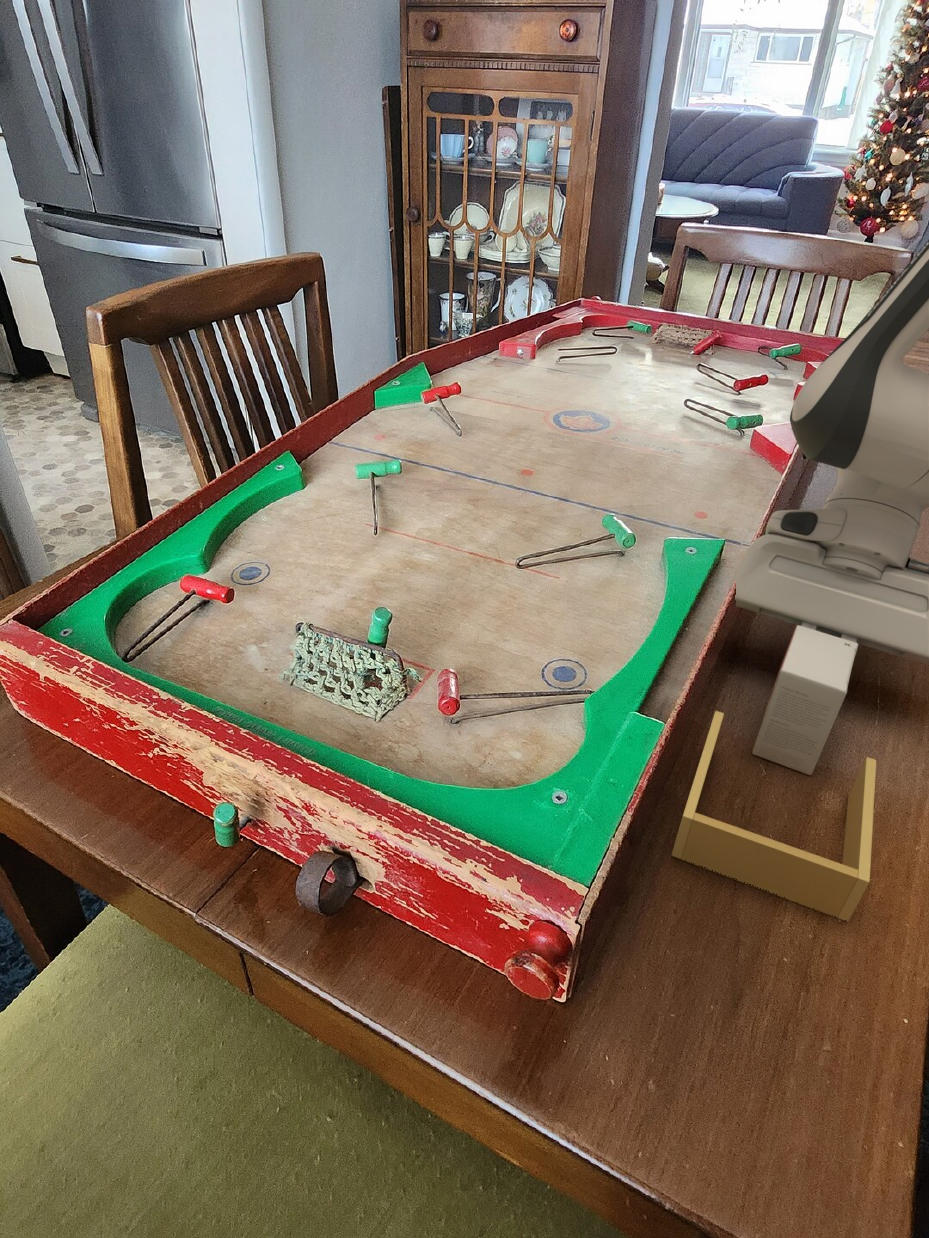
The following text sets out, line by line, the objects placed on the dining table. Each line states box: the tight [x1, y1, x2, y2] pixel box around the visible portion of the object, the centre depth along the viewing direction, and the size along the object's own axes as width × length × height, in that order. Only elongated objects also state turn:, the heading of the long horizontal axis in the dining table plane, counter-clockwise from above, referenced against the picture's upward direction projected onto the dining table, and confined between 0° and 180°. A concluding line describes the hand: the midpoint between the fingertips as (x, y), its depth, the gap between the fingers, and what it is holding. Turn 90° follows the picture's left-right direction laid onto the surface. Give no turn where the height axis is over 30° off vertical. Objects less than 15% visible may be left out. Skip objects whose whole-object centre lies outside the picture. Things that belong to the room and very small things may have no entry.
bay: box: [671, 710, 877, 923], centre depth 65 cm, size 14×14×5 cm
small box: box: [751, 625, 860, 776], centre depth 72 cm, size 8×6×10 cm
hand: (812, 676), depth 75 cm, fingers closed, pressing on small box
